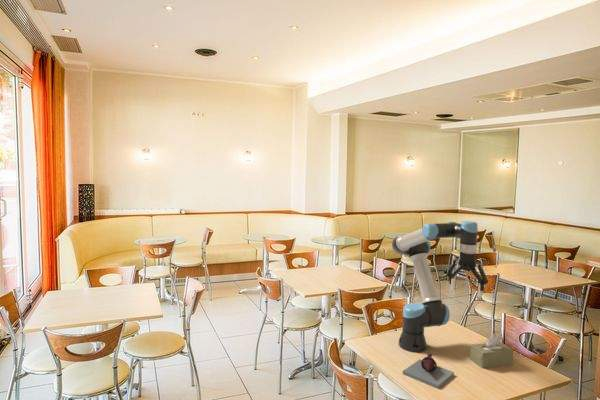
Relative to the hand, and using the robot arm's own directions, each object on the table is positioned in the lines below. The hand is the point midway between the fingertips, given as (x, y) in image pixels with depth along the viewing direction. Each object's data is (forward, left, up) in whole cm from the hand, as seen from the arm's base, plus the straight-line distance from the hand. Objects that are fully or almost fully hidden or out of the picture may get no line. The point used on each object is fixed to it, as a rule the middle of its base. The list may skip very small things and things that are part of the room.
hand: (465, 293), depth 202 cm
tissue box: (+10, +13, -37) cm, 40 cm away
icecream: (-7, -22, -35) cm, 42 cm away
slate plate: (-7, -23, -37) cm, 44 cm away
